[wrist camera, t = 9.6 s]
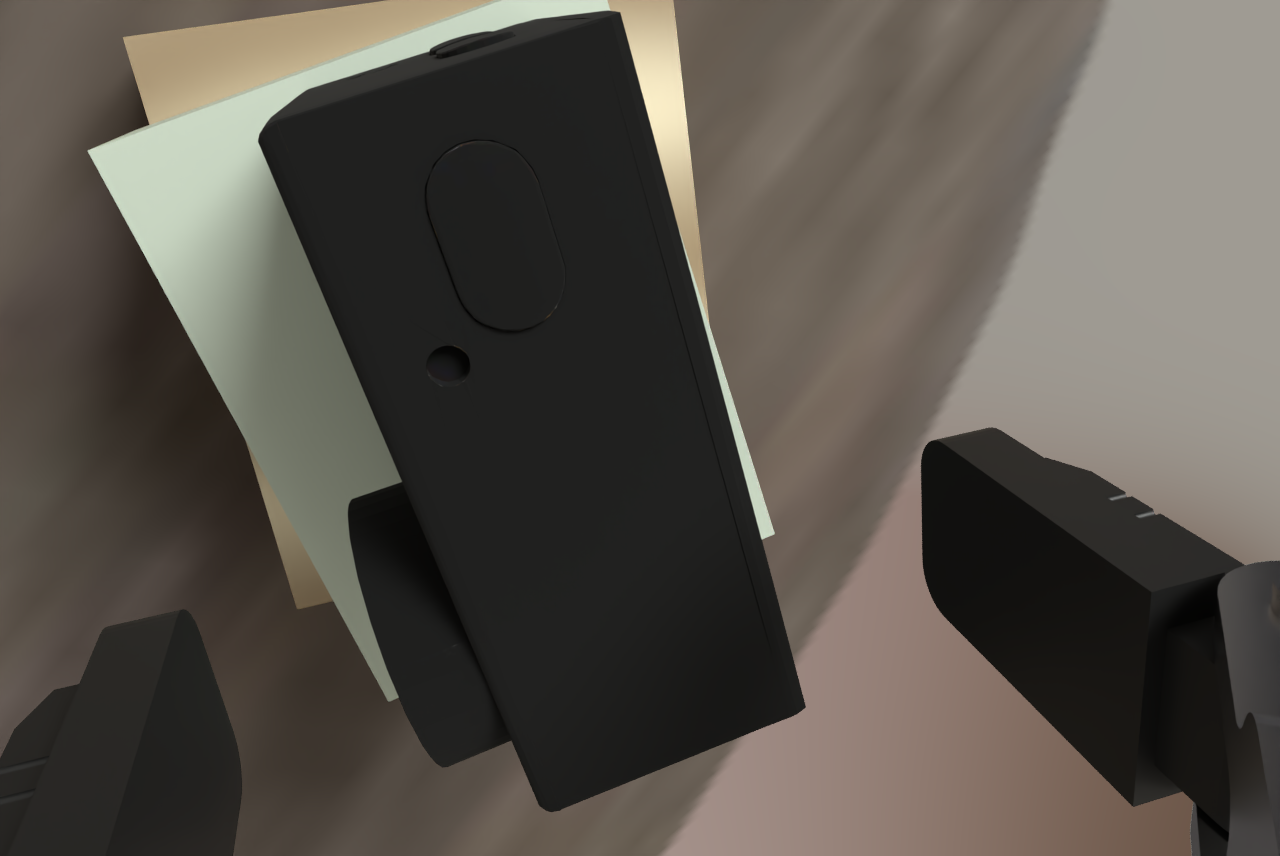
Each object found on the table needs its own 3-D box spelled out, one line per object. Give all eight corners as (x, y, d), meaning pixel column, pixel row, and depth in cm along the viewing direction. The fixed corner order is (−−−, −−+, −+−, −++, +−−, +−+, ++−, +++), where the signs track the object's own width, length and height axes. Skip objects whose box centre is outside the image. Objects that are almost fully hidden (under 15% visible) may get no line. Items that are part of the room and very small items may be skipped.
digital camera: (221, 107, 17) (135, 152, 11) (531, 11, 18) (621, 0, 11) (439, 610, 21) (468, 854, 15) (683, 518, 22) (810, 716, 16)
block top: (134, 130, 20) (87, 150, 17) (555, -23, 21) (596, -34, 18) (383, 606, 25) (388, 702, 22) (717, 465, 26) (774, 533, 23)
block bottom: (159, 37, 24) (123, 37, 20) (624, -28, 26) (669, -39, 22) (304, 536, 29) (297, 609, 25) (685, 450, 30) (729, 506, 27)
